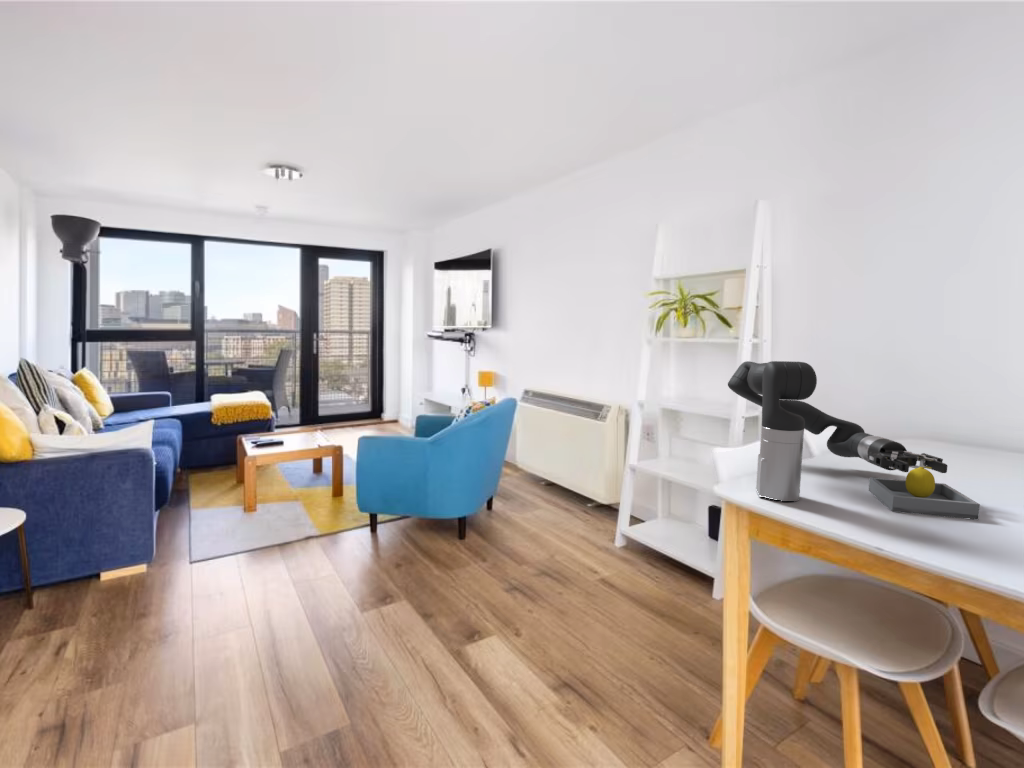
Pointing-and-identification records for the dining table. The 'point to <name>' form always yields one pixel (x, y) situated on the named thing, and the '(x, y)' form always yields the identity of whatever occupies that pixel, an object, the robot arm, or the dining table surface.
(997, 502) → the dining table surface
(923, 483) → the lemon
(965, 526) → the dining table surface
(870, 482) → the tray
